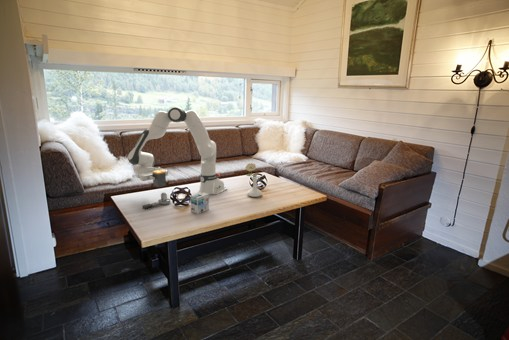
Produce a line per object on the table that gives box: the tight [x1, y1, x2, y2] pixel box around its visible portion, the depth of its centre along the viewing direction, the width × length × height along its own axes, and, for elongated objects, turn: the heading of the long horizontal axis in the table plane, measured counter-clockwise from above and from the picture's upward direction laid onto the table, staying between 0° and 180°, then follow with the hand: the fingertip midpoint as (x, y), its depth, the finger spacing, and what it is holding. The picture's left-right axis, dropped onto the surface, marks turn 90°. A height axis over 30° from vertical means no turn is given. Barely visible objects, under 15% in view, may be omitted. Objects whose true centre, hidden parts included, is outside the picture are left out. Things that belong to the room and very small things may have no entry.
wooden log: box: [152, 170, 167, 188], centre depth 206 cm, size 6×6×10 cm
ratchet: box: [142, 192, 171, 211], centre depth 202 cm, size 19×8×7 cm, turn 139°
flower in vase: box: [245, 162, 263, 198], centre depth 224 cm, size 13×11×25 cm
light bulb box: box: [190, 192, 210, 215], centre depth 196 cm, size 11×7×11 cm, turn 146°
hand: (160, 177), depth 205 cm, fingers closed on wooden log, 6 cm apart
